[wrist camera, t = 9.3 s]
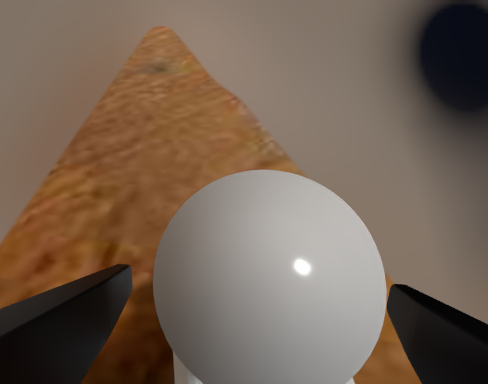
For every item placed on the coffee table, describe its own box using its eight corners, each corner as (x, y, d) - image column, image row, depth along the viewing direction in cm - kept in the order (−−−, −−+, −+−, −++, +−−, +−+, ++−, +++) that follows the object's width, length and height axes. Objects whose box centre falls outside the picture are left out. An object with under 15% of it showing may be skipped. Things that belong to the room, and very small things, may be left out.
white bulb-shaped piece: (280, 366, 14) (412, 429, 3) (213, 358, 14) (116, 386, 3) (283, 295, 16) (367, 179, 5) (224, 288, 16) (183, 162, 5)
